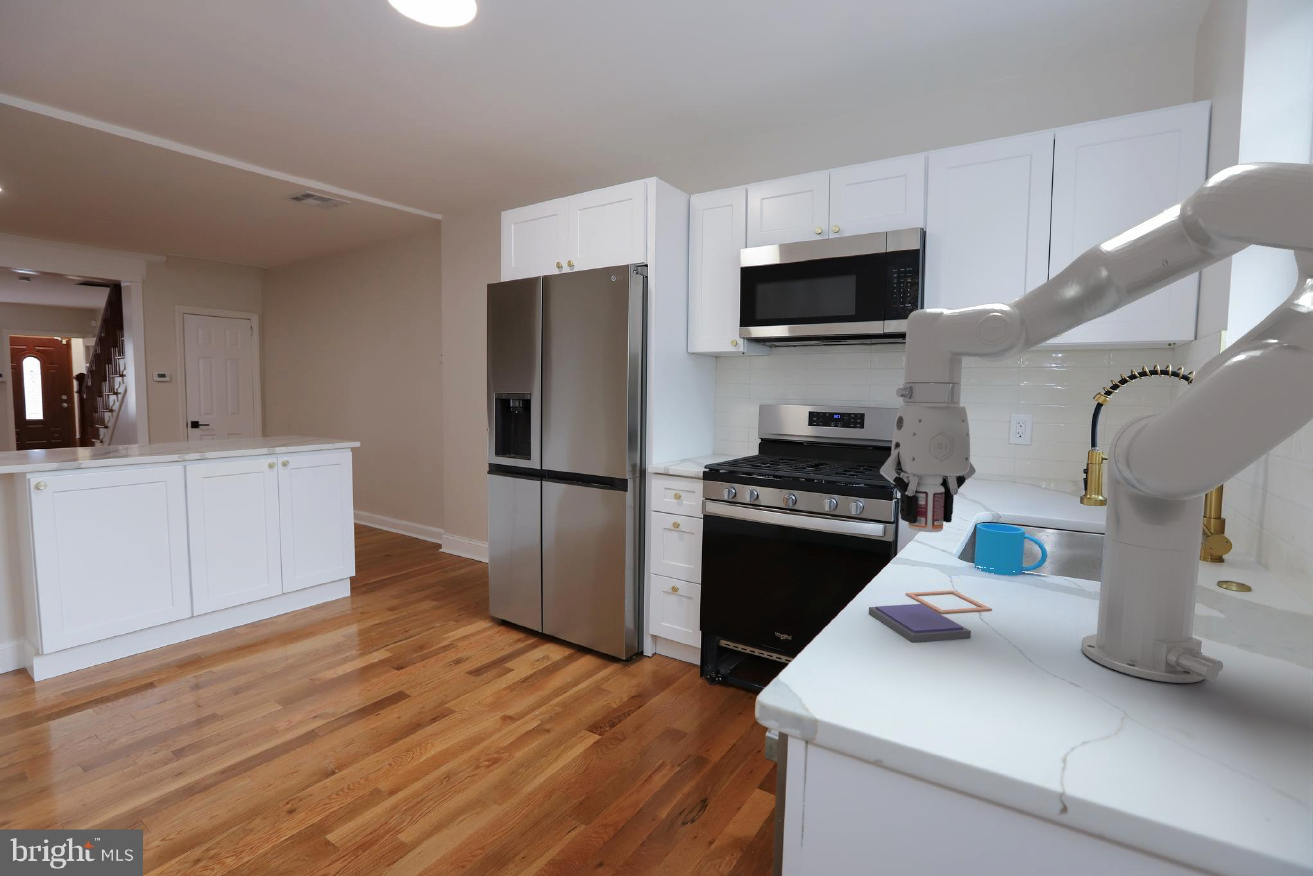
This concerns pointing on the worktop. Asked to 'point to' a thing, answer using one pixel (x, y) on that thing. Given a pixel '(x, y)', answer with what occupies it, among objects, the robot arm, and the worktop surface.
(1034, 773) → the worktop surface
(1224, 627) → the worktop surface
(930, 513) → the pill bottle
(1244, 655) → the worktop surface
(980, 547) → the mug
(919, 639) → the ink pad
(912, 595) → the open rectangular frame
